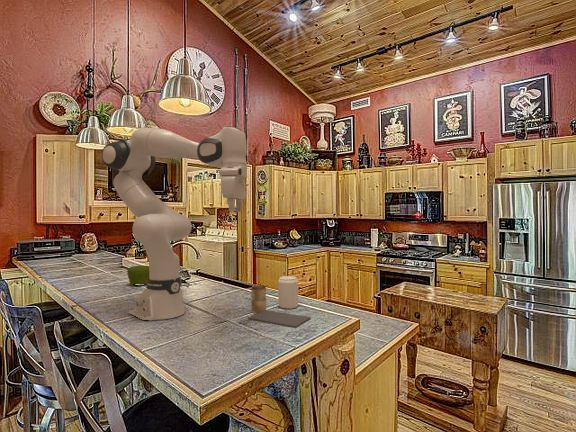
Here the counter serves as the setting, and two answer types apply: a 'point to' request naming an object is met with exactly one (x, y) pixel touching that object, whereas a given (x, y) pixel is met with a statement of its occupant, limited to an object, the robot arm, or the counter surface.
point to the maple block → (258, 298)
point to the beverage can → (288, 292)
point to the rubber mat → (280, 318)
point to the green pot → (138, 274)
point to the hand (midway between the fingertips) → (235, 212)
